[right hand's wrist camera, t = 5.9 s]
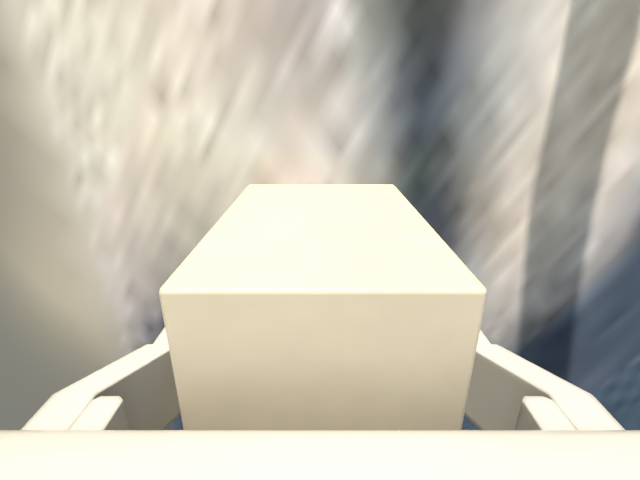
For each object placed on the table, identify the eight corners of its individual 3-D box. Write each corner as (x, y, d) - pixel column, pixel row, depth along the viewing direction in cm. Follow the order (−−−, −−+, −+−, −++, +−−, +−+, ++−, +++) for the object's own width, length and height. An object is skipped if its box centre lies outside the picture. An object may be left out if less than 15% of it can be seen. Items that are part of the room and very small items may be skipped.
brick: (394, 183, 12) (490, 289, 5) (381, 351, 15) (436, 572, 8) (248, 183, 12) (155, 289, 5) (260, 351, 15) (207, 571, 8)
